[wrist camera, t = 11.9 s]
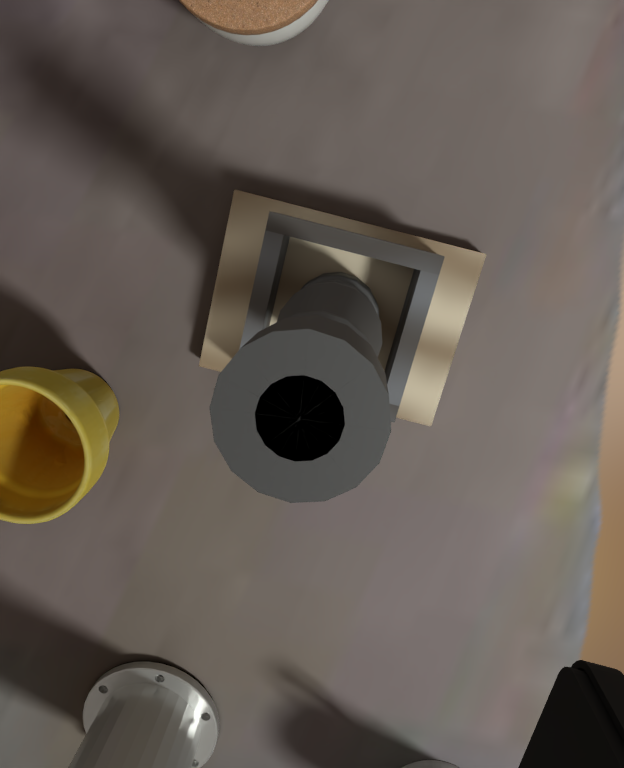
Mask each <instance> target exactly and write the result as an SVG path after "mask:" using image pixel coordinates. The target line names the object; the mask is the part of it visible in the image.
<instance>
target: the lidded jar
mask: <svg viewBox="0 0 624 768" xmlns="http://www.w3.org/2000/svg"><path fill="white" fill-rule="evenodd" d="M179 1H180V2H181V3H182V4H183V5H184V6H185V7H186V8H187V9H188V10H189V11H190V12H191V13H192V14H193V15H195V16H196V17H197V18H198V19H199V21H200V22H201V23H203V24H204V25H205V26H207V27H208V28H209V29H211V30H212V31H214V32H215V33H217V34H218V35H220V36H222V37H224V38H226V39H228V40H230V41H234V42H237V43H240V44H244V45H251V46H270V45H274V44H278V43H282V42H284V41H287V40H289V39H291V38H293V37H295V36H296V35H298V34H300V33H301V32H303V31H304V30H305V29H306V28H307V27H308V26H310V25H311V24H312V23H313V22H314V20H315V19H316V18H317V17H318V16H319V14H320V13H321V12H322V10H323V8H324V7H325V5H326V4H327V2H328V0H179Z"/></svg>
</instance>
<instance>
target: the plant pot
mask: <svg viewBox="0 0 624 768" xmlns="http://www.w3.org/2000/svg"><path fill="white" fill-rule="evenodd" d="M118 420H119V406H118V402H117V399H116V397H115V394H114V393H113V391H112V389H111V388H110V387H109V385H108V384H107V383H106V382H105V381H104V380H103V379H101V378H100V377H99V376H97V375H95V374H94V373H91V372H89V371H86V370H82V369H63V370H54V371H52V370H49V369H45V368H40V367H17V368H12V369H7V370H4V371H1V372H0V520H4V521H8V522H12V523H21V524H33V523H40V522H45V521H49V520H52V519H54V518H57V517H59V516H61V515H62V514H64V513H66V512H67V511H69V510H70V509H71V508H72V507H73V506H75V505H76V504H77V503H78V502H79V501H80V500H81V499H82V498H83V497H84V496H85V495H86V494H87V493H88V492H89V490H90V489H91V488H92V487H93V486H94V484H95V483H96V482H97V481H98V479H99V478H100V476H101V474H102V472H103V471H104V468H105V466H106V463H107V459H108V454H109V442H110V440H111V437H112V435H113V433H114V431H115V429H116V427H117V424H118Z"/></svg>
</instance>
